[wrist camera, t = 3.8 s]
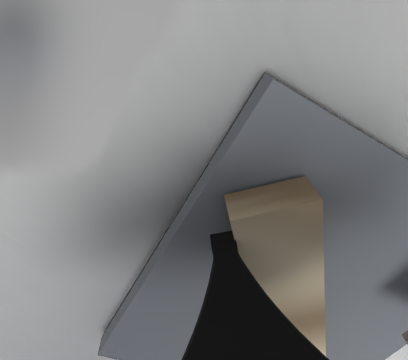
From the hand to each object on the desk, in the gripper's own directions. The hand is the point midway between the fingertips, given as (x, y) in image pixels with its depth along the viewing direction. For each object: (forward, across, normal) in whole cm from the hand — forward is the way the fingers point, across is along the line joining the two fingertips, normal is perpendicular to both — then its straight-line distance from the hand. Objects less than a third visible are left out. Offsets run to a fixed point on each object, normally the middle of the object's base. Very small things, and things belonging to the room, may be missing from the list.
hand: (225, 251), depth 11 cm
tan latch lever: (+1, -2, +6) cm, 6 cm away
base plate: (+2, -4, +6) cm, 7 cm away
